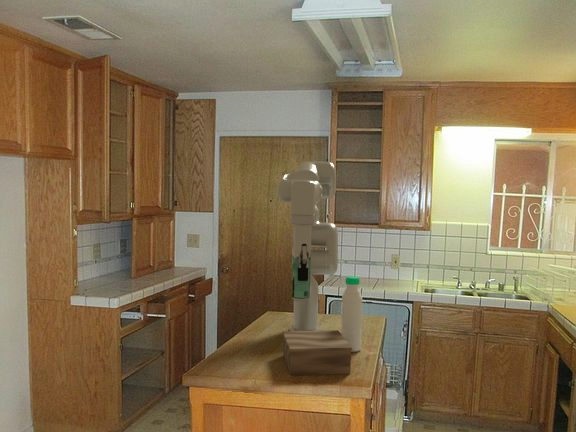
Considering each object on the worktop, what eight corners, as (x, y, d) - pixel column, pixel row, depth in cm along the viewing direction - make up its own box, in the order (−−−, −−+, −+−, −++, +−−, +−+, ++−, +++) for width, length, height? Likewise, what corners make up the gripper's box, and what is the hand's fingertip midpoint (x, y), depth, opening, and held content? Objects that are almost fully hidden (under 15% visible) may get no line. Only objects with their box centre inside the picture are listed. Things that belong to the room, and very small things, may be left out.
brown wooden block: (282, 355, 166) (282, 331, 166) (337, 353, 168) (338, 330, 168) (289, 375, 148) (290, 348, 147) (351, 374, 150) (352, 347, 150)
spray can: (312, 298, 158) (313, 234, 157) (306, 301, 153) (307, 236, 152) (295, 296, 160) (296, 233, 159) (289, 300, 155) (290, 235, 154)
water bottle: (356, 353, 169) (357, 279, 168) (337, 350, 173) (338, 277, 171) (364, 348, 175) (366, 276, 174) (346, 344, 179) (347, 274, 177)
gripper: (287, 218, 163) (286, 274, 164) (293, 222, 146) (292, 284, 147) (310, 218, 164) (309, 274, 165) (318, 222, 147) (317, 284, 148)
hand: (301, 278), depth 156 cm, fingers closed on spray can, 5 cm apart
